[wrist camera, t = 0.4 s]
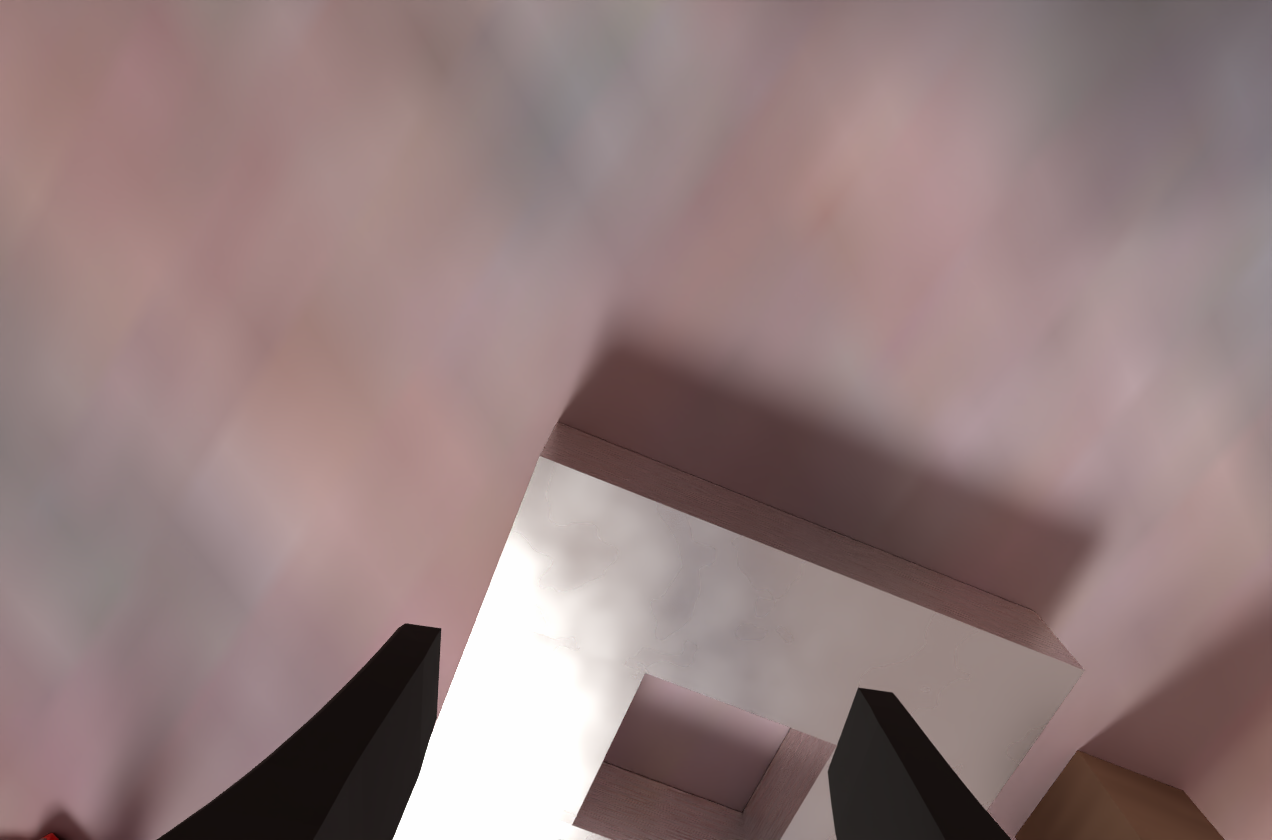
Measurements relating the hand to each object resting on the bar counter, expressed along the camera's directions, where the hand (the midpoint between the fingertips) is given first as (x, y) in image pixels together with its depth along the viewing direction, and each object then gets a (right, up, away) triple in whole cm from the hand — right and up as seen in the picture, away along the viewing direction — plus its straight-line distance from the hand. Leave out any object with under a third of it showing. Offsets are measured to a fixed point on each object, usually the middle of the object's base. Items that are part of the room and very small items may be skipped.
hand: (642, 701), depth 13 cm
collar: (+2, -5, +12) cm, 14 cm away
